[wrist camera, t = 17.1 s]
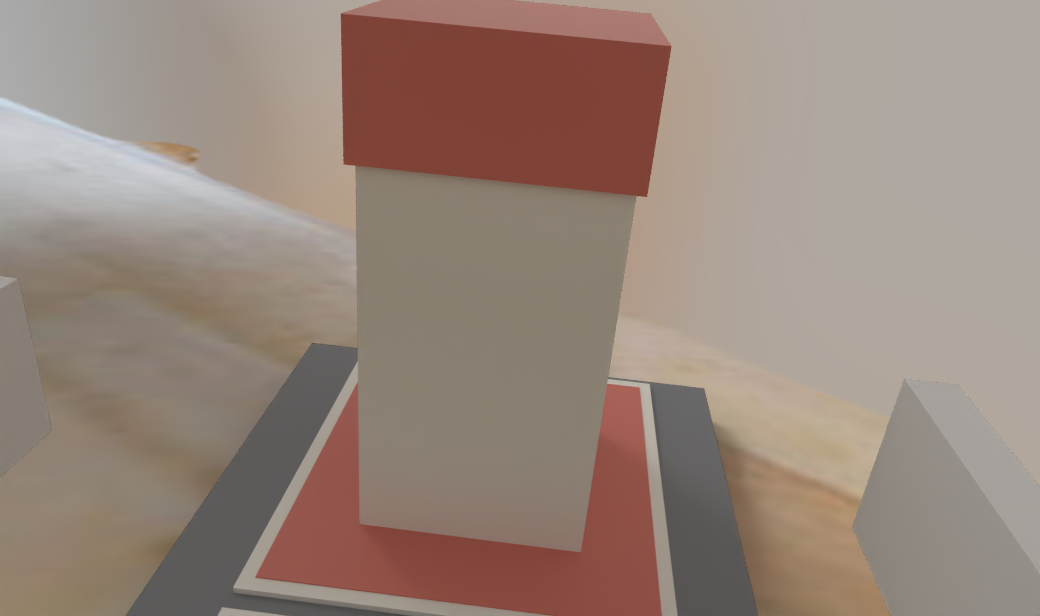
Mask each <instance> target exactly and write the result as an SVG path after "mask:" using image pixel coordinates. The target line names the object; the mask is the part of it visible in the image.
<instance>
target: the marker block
mask: <svg viewBox="0 0 1040 616" xmlns="http://www.w3.org/2000/svg"><path fill="white" fill-rule="evenodd" d="M341 45H342V99H343V100H342V102H343V150H344V151H343V157H344V164H347V165H355V166H356V245H357V336H358V427H359V518H360V524H363V525H371V526H379V527H386V528H394V529H402V530H410V531H418V532H425V533H433V534H441V535H449V536H457V537H465V538H472V539H480V540H488V541H496V542H504V543H511V544H519V545H527V546H535V547H543V548H550V549H558V550H566V551H574V552H581V548H582V542H583V536H584V529H585V523H586V516H587V510H588V503H589V497H590V491H591V484H592V478H593V471H594V465H595V458H596V452H597V446H598V439H599V433H600V426H601V420H602V414H603V407H604V401H605V394H606V388H607V381H608V375H609V369H610V362H611V356H612V349H613V343H614V337H615V330H616V324H617V317H618V311H619V304H620V298H621V291H622V285H623V278H624V272H625V266H626V259H627V253H628V246H629V240H630V234H631V227H632V221H633V214H634V208H635V202H636V196H643V197H647V193H648V187H649V181H650V175H651V169H652V163H653V156H654V150H655V144H656V138H657V132H658V126H659V119H660V113H661V107H662V101H663V95H664V89H665V82H666V76H667V70H668V64H669V58H670V52H671V45H670V43H669V42H668V40H667V38H666V37H665V35H664V34H663V32H662V31H661V29H660V27H659V26H658V24H657V23H656V21H655V20H654V18H653V16H652V15H651V14H648V13H637V12H628V11H618V10H607V9H596V8H587V7H577V6H576V7H575V6H566V5H556V4H545V3H535V2H525V1H514V0H381V1H378V2H375V3H372V4H369V5H365V6H362V7H359V8H356V9H353V10H350V11H347V12H344V13H341Z"/></svg>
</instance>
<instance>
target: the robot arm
mask: <svg viewBox="0 0 1040 616" xmlns="http://www.w3.org/2000/svg"><path fill="white" fill-rule="evenodd" d="M51 430H52V428H51V423H50V419H49V414H48V410H47V405H46V401H45V396H44V392H43V387H42V383H41V378H40V374H39V369H38V365H37V360H36V356H35V351H34V347H33V342H32V338H31V333H30V329H29V324H28V320H27V315H26V311H25V306H24V302H23V297H22V293H21V288H20V284H19V279H18V278H11V277H2V276H0V477H1V476H2V475H4V474H5V473H6V472H7V471H8V470H9V469H10V468H11V467H12V466H13V465H14V464H15V463H17V462H18V461H19V460H20V459H21V458H22V457H23V456H24V455H25V454H26V453H27V452H28V451H30V450H31V449H32V448H33V447H34V446H35V445H36V444H37V443H38V442H39V441H40V440H41V439H43V438H44V437H45V436H46V435H47V434H48V433H49V432H50V431H51ZM852 527H853V530H854V532H855V534H856V537H857V539H858V541H859V544H860V546H861V548H862V550H863V553H864V555H865V557H866V560H867V562H868V564H869V567H870V569H871V571H872V573H873V576H874V578H875V580H876V583H877V585H878V587H879V590H880V592H881V594H882V596H883V599H884V601H885V603H886V606H887V608H888V610H889V613H890V615H891V616H1040V485H1039V484H1038V483H1037V482H1036V480H1035V479H1034V478H1033V477H1032V475H1031V474H1030V473H1029V472H1028V471H1027V469H1026V468H1025V467H1024V466H1023V464H1022V463H1021V462H1020V461H1019V460H1018V458H1017V457H1016V456H1015V454H1014V453H1013V452H1012V451H1011V449H1010V448H1009V447H1008V446H1007V445H1006V443H1005V442H1004V441H1003V439H1002V438H1001V437H1000V436H999V434H998V433H997V432H996V431H995V429H994V428H993V427H992V426H991V425H990V423H989V422H988V421H987V420H986V418H985V417H984V416H983V415H982V413H981V412H980V411H979V410H978V409H977V407H976V406H975V405H974V403H973V402H972V401H971V400H970V398H969V397H968V396H967V395H966V394H965V392H964V391H963V390H962V388H961V387H960V386H959V385H955V384H947V383H938V382H929V381H921V380H912V379H904V381H903V384H902V387H901V389H900V392H899V395H898V398H897V401H896V404H895V406H894V409H893V412H892V415H891V418H890V421H889V423H888V426H887V429H886V432H885V435H884V438H883V440H882V443H881V446H880V449H879V452H878V455H877V457H876V460H875V463H874V466H873V469H872V472H871V475H870V477H869V480H868V483H867V486H866V489H865V492H864V494H863V497H862V500H861V503H860V506H859V509H858V511H857V514H856V517H855V520H854V523H853V526H852Z"/></svg>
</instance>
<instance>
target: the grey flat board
mask: <svg viewBox="0 0 1040 616" xmlns="http://www.w3.org/2000/svg"><path fill="white" fill-rule="evenodd" d="M126 616H758V613H757V608H756V604H755V600H754V596H753V592H752V587H751V583H750V579H749V575H748V571H747V566H746V562H745V558H744V554H743V550H742V545H741V541H740V537H739V533H738V529H737V524H736V520H735V516H734V512H733V508H732V503H731V499H730V495H729V491H728V487H727V482H726V478H725V474H724V470H723V466H722V461H721V457H720V453H719V449H718V445H717V440H716V436H715V432H714V428H713V424H712V419H711V415H710V411H709V407H708V403H707V398H706V394H705V390H704V388H696V387H687V386H679V385H670V384H662V383H653V382H644V381H636V380H627V379H619V378H610V377H608V381H607V388H606V394H605V401H604V407H603V414H602V420H601V426H600V433H599V439H598V446H597V452H596V458H595V465H594V471H593V478H592V484H591V491H590V497H589V503H588V510H587V516H586V523H585V529H584V536H583V542H582V548H581V552H574V551H566V550H558V549H550V548H543V547H535V546H527V545H519V544H511V543H504V542H496V541H488V540H480V539H472V538H465V537H457V536H449V535H441V534H433V533H425V532H418V531H410V530H402V529H394V528H386V527H379V526H371V525H363V524H360V518H359V427H358V348H352V347H343V346H335V345H326V344H318V343H312V344H311V346H310V347H309V348H308V350H307V351H306V353H305V354H304V356H303V357H302V359H301V360H300V362H299V363H298V365H297V366H296V367H295V369H294V370H293V372H292V373H291V375H290V376H289V378H288V379H287V381H286V382H285V384H284V385H283V386H282V388H281V389H280V391H279V392H278V394H277V395H276V397H275V398H274V400H273V401H272V403H271V404H270V405H269V407H268V408H267V410H266V411H265V413H264V414H263V416H262V417H261V419H260V420H259V422H258V423H257V424H256V426H255V427H254V429H253V430H252V432H251V433H250V435H249V436H248V438H247V439H246V441H245V442H244V443H243V445H242V446H241V448H240V449H239V451H238V452H237V454H236V455H235V457H234V458H233V460H232V461H231V462H230V464H229V465H228V467H227V468H226V470H225V471H224V473H223V474H222V476H221V477H220V479H219V480H218V481H217V483H216V484H215V486H214V487H213V489H212V490H211V492H210V493H209V495H208V496H207V498H206V499H205V500H204V502H203V503H202V505H201V506H200V508H199V509H198V511H197V512H196V514H195V515H194V517H193V518H192V520H191V521H190V522H189V524H188V525H187V527H186V528H185V530H184V531H183V533H182V534H181V536H180V537H179V539H178V540H177V541H176V543H175V544H174V546H173V547H172V549H171V550H170V552H169V553H168V555H167V556H166V558H165V559H164V560H163V562H162V563H161V565H160V566H159V568H158V569H157V571H156V572H155V574H154V575H153V577H152V578H151V579H150V581H149V582H148V584H147V585H146V587H145V588H144V590H143V591H142V593H141V594H140V596H139V597H138V598H137V600H136V601H135V603H134V604H133V606H132V607H131V609H130V610H129V612H128V613H127V615H126Z"/></svg>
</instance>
